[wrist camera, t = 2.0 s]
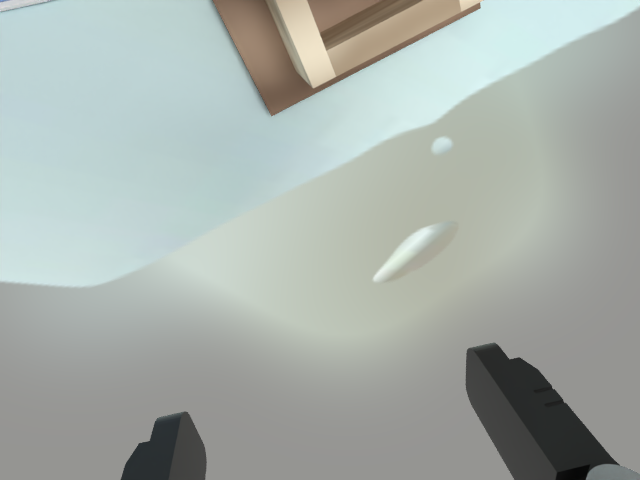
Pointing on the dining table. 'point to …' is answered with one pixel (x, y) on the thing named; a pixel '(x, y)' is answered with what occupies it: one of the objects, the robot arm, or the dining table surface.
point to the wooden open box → (354, 33)
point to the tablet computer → (17, 3)
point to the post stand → (271, 54)
